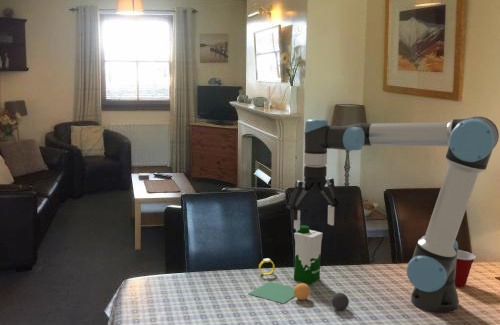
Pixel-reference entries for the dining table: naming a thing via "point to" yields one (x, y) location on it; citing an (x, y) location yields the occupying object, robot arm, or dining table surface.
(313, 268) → the milk carton
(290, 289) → the green mark
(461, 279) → the plastic cup
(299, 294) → the ball orange
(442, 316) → the dining table surface
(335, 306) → the cue ball black
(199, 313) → the dining table surface
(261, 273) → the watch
